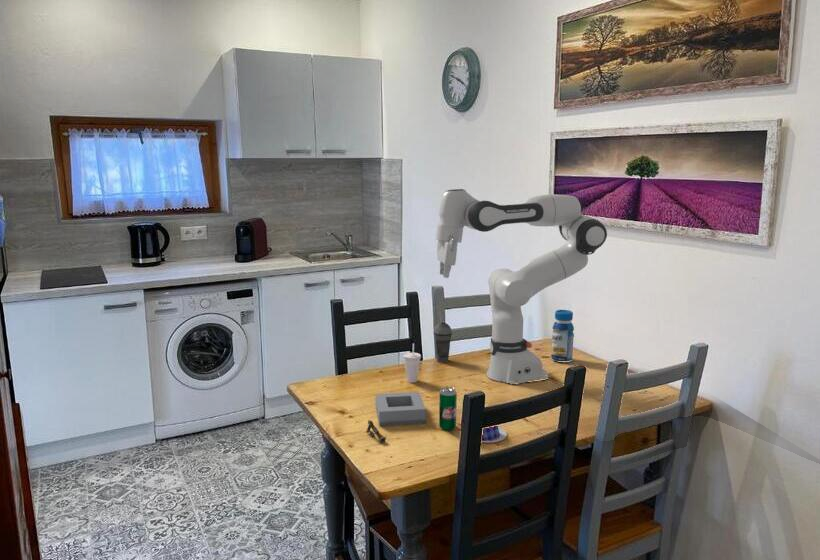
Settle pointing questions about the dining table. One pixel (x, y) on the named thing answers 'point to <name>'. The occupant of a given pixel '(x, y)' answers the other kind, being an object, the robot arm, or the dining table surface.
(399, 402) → the block
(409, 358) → the smoothie
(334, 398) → the dining table surface
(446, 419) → the soda can
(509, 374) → the robot arm
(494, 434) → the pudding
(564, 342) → the beverage bottle
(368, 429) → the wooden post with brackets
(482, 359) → the dining table surface
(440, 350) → the beverage cup
